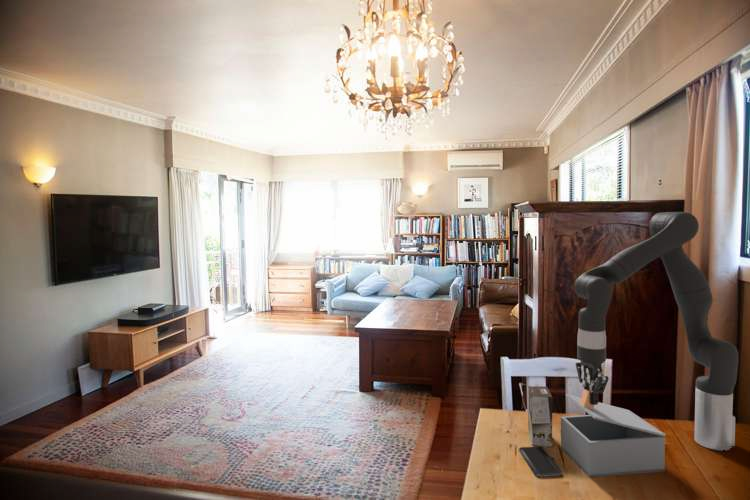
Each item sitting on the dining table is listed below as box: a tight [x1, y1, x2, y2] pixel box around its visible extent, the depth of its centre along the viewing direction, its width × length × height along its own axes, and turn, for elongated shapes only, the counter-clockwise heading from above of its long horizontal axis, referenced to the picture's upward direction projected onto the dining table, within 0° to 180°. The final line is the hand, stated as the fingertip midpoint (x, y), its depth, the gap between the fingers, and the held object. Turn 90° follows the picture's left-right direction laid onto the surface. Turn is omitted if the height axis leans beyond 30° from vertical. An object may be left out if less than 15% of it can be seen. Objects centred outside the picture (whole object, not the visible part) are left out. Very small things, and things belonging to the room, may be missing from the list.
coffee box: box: [527, 385, 553, 447], centre depth 144 cm, size 9×6×16 cm
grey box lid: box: [565, 388, 666, 438], centre depth 131 cm, size 22×16×5 cm
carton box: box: [560, 414, 666, 478], centre depth 132 cm, size 22×16×10 cm
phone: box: [518, 446, 563, 479], centre depth 132 cm, size 8×1×15 cm
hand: (590, 401), depth 130 cm, fingers closed on grey box lid, 2 cm apart
